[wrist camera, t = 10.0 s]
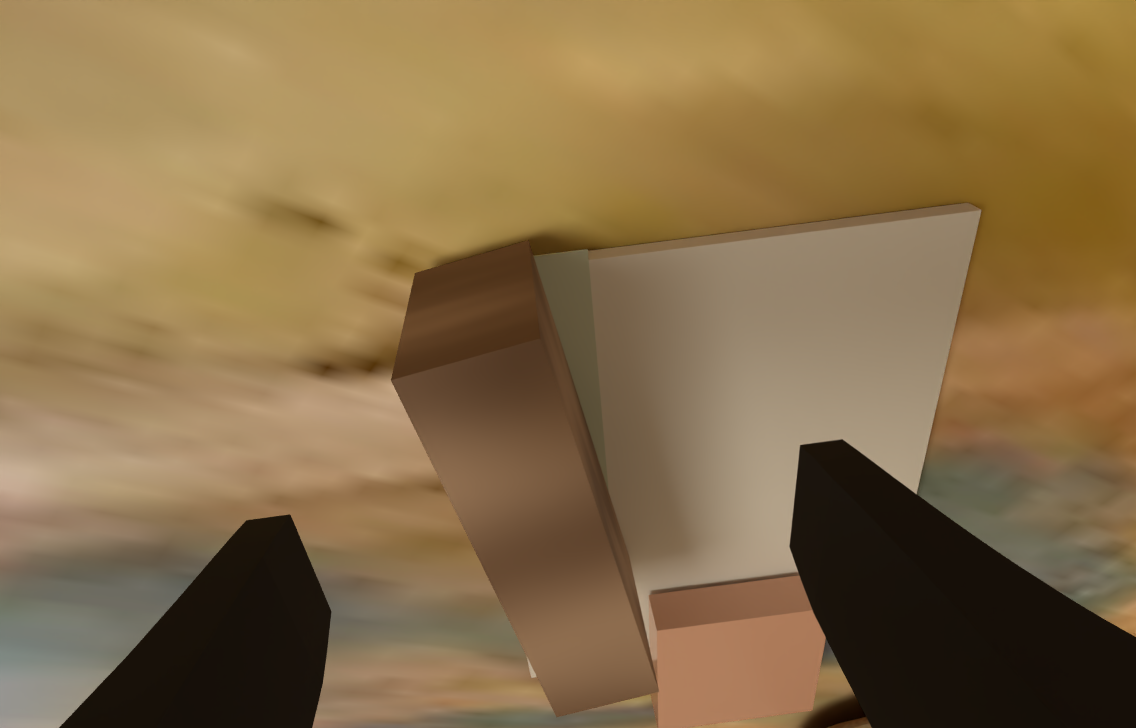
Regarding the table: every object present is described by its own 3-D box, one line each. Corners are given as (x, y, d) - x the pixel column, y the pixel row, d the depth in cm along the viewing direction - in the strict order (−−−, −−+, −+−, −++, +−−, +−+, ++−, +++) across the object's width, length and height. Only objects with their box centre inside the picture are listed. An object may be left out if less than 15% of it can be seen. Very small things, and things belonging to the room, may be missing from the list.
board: (970, 191, 19) (984, 199, 18) (878, 613, 28) (886, 627, 27) (448, 257, 18) (447, 267, 18) (530, 663, 27) (531, 678, 27)
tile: (831, 607, 24) (812, 710, 27) (811, 569, 25) (795, 671, 28) (656, 630, 23) (658, 731, 27) (647, 590, 25) (649, 690, 28)
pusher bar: (629, 556, 24) (659, 691, 20) (545, 579, 24) (556, 717, 20) (528, 240, 17) (540, 338, 13) (414, 273, 18) (391, 380, 13)
